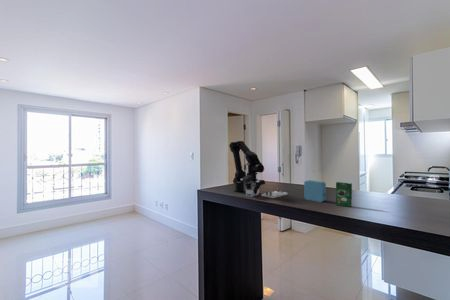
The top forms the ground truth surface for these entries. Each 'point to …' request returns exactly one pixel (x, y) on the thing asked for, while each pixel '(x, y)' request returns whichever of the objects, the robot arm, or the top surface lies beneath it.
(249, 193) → the drive
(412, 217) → the top surface
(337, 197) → the coffee box
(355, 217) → the top surface
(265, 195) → the pin tray
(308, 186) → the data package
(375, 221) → the top surface
